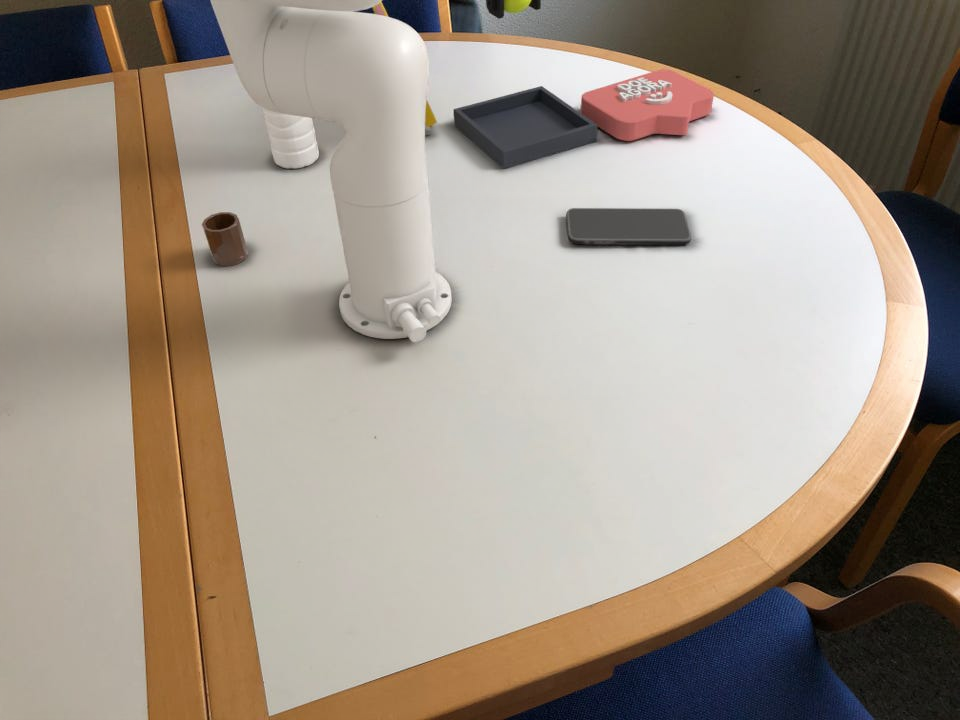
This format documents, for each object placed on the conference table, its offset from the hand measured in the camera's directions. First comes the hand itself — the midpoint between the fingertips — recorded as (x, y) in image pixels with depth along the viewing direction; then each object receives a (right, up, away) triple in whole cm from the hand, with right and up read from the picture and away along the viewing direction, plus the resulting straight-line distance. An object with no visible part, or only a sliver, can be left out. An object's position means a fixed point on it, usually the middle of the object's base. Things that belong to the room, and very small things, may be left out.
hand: (514, 9), depth 106 cm
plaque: (+22, -10, +16) cm, 28 cm away
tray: (+2, -13, +13) cm, 18 cm away
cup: (-35, -34, -8) cm, 50 cm away
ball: (0, +2, -1) cm, 2 cm away
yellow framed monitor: (-17, -9, +18) cm, 26 cm away
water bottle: (-32, -18, +10) cm, 38 cm away
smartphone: (+14, -31, -6) cm, 34 cm away
